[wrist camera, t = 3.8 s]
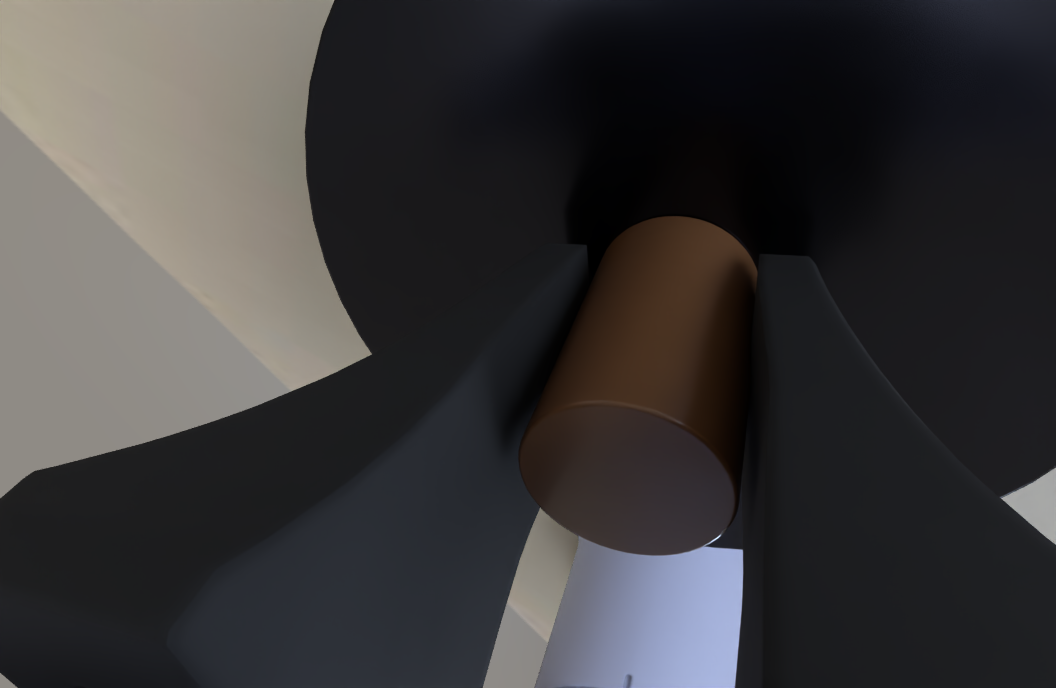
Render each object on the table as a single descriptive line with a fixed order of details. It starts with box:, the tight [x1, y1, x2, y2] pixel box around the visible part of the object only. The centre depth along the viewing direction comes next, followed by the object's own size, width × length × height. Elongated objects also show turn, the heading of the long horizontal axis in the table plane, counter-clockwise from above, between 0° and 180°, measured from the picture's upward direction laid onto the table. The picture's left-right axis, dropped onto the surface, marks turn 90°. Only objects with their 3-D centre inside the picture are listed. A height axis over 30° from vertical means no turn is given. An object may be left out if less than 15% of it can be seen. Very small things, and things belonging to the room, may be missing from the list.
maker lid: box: [305, 0, 1056, 556], centre depth 9 cm, size 13×13×5 cm
